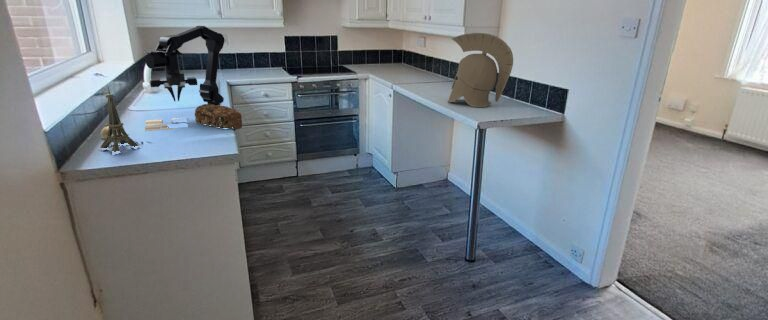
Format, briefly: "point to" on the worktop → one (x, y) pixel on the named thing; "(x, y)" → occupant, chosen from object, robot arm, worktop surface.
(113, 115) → the eiffel tower
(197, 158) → the worktop surface
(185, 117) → the oak plank
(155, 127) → the cardboard box
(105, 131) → the onion
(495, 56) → the helmet
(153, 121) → the oak plank
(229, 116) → the bread
